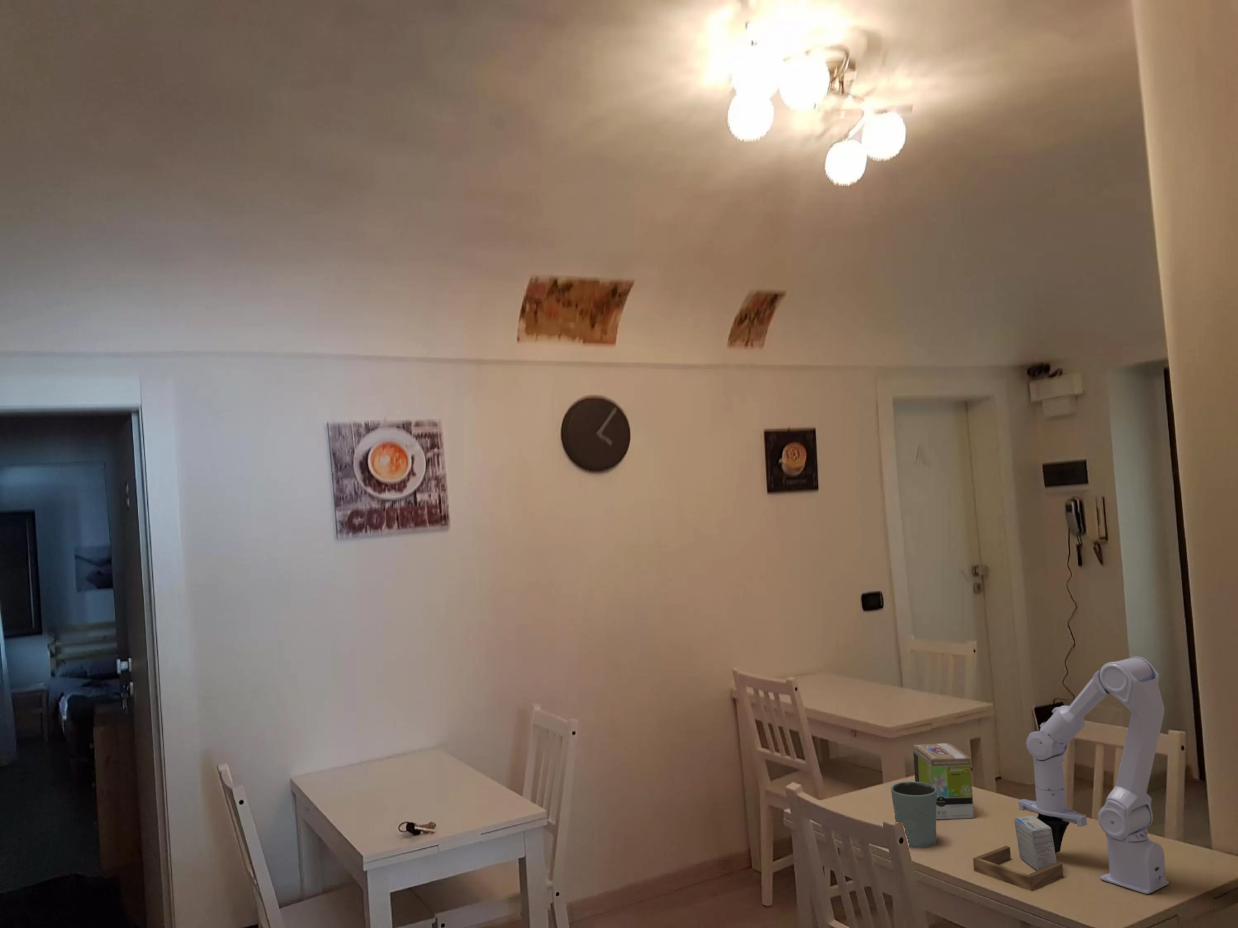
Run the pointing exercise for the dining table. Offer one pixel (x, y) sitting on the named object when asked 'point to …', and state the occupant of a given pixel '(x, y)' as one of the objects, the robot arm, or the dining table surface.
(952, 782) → the tea box
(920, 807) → the teal cup
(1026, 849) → the medicine box
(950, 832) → the dining table surface
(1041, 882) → the holder
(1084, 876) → the dining table surface
